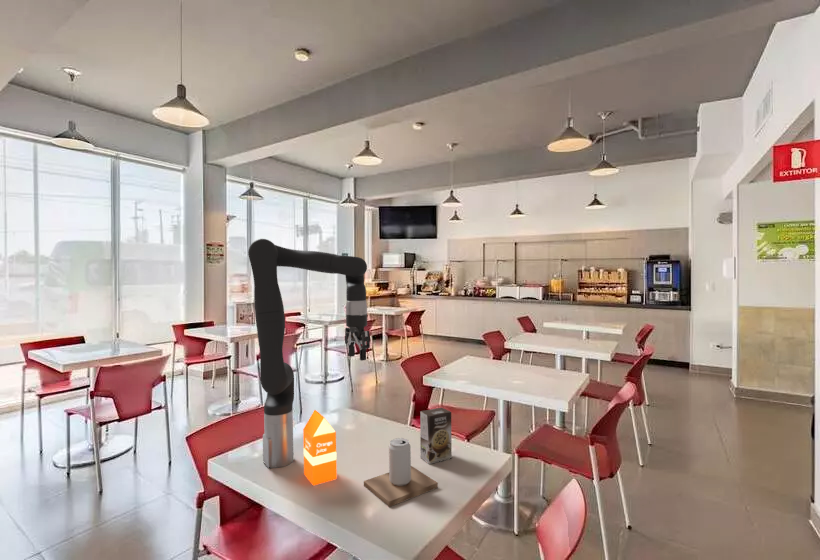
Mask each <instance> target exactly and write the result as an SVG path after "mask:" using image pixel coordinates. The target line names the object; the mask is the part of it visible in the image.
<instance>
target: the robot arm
mask: <svg viewBox="0 0 820 560" xmlns="http://www.w3.org/2000/svg"><path fill="white" fill-rule="evenodd" d="M247 251H248V254H247V255H248V259H249V262H250V267H251V271H252V276H253V284H254V287H253V288H254V290H253V291H254V292H253V293H254V295H253V297H254V298H253V301H254V315H255V325H256V331H257V341H258V348H259V359H260V360H259V361H260V362H259V363H260V364H259V366H260V371H259V373H260V374H259V375H260V376H259V378H260V379H259V380H260V385H261V387H262V389H263V391H265V392H266V393H267V394H266V399H265V402H264V405H263V416H264V417H263V420H264V421H263V422H264V426H263V427H264V429H263V430H264V431H263V432H264V433H263V434H262V461H264V462H265V464H266V465H267V466H266V465H265V464H264V465H265V466H266V467H267V469H270V468H269V467H272V468H281V467H286V466H288V465H290V464H292V463H293V461H294V455H295V454H294V453H295V452H294V422H293V421H294V417H293V416H294V415H293V413H294V412H293V409H294V408H293V407H294V406H293V404H294V400H295V399H294V398H295V374H294V369H293V368H292V366H291V365H290V364H289V363H288V362H285V361H284V354H283V353H284V352H283V348H284V340H285V339H284V338H285V332H286V331H285V330H286V317H285V308H284V301H283V297H282V293H281V289H280V286H279V281H278V280H279V279H278V267H285V268H286V267H287V268H295V269H301V270H307V271H312V272H317V273H325V274H333V275H334V274H339V275H344V276H345V283H346V289H345V290H346V293H345V294H346V303H345V326H346V327H345V328H344V330H345V331H344V344H345V345H347V347H348V351H347V352H348V357H349V358H350V357H351V358H352V357H355V356H356V354H355V351H356V347H355V345H358V348H359V360H360V361H361V362H362V361H366V360H367V349H370V348H371V342H370V331H369V330H365V327H367V326H368V305H367V288H366V285H365V274H366V273H367V269H368V264H367V262H366V260H365V259H363V258H362V257H360V256H353V255H338V254H336V253H330V252H322V251H315V250H314V251H313V250H301V249H300V250H299V249H291V248H287V247H284V246H279V245H277V244H275V243H274V242H273V241H271V240H269V239H266V238H258V239H256V240H254V241H253V242H252V243H251V244H250V246H249V248H248V250H247ZM264 462H263V463H264Z"/></svg>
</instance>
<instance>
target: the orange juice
mask: <svg viewBox="0 0 820 560" xmlns="http://www.w3.org/2000/svg"><path fill="white" fill-rule="evenodd" d="M302 429H303V430H302V431H303V433H302V434H303V440H302V441H303V475H304V476H305V478H306V479H307V481H309V482H310V483H311V485H312V486H317V485H320V484H321V485H322V484H325V483H326V482H331V481H334V480H337V475H338V471H337V432H336V431H335V429H334V428H333V427H332V425H331V424H330V423H329V422H328V419H326V418H325V416H323V415H322V414H321V413H320V412H318V411H317V410H316V409H314V410H313V412H312V414H311V415H310V417H309V419H308V420H307V422H306V423H305V426H304V427H303V428H302Z"/></svg>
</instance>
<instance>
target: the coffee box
mask: <svg viewBox="0 0 820 560" xmlns="http://www.w3.org/2000/svg"><path fill="white" fill-rule="evenodd" d="M419 412H420V418H419V420H420V433H419V434H420V444H419V445H420V448H419V449H420V453H419V454H420V455H419V456H420V458H421V459H422V460H423V461H425V462H426V463H427V464H428V465H432V464H436V463H439V461H440V462H443V461H442V460H444V461H447V460H446V459H448V460H451V459H450V458H452V453H453V451H452V450H453V449H452V444H453V443H452V411H450V410H449V409H445V408H444V407H437V408H431V409H426V410H421V411H419Z"/></svg>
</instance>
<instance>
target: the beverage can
mask: <svg viewBox="0 0 820 560" xmlns="http://www.w3.org/2000/svg"><path fill="white" fill-rule="evenodd" d="M389 441H390V442H389V445H388V469H389V470H388V471H389V472H388V473H389V479H390V482H391V483H392V484H394V485H397V486H403V485H406V484H408V483H409V482H410V481H411V466H412V465H411V464H412V463H411V462H412V461H411V458H412V456H411V453H412V452H411V444H410V441H409V439H407V438H403V437H397V438H393V439H391V440H389Z"/></svg>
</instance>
